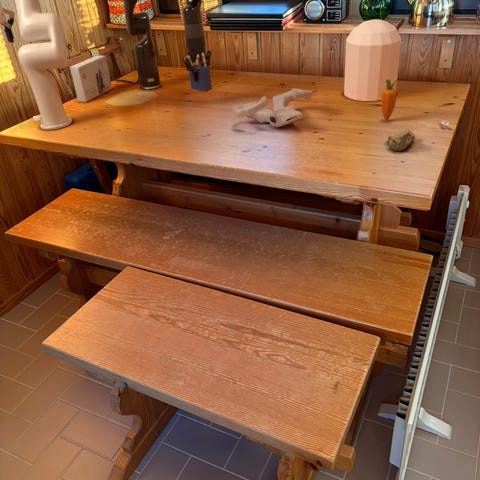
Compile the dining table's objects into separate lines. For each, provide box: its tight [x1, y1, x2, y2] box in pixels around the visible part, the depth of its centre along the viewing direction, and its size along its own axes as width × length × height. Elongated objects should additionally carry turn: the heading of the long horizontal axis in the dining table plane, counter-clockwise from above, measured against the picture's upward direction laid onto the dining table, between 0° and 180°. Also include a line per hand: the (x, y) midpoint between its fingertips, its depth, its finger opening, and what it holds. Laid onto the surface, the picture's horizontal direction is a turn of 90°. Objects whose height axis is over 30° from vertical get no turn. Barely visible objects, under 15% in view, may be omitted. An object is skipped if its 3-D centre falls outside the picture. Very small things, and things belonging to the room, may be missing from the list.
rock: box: [387, 129, 416, 152], centre depth 146 cm, size 11×6×10 cm
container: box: [343, 18, 402, 102], centre depth 184 cm, size 21×21×28 cm
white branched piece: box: [231, 88, 314, 128], centre depth 171 cm, size 28×26×12 cm
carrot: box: [380, 78, 398, 122], centre depth 161 cm, size 5×5×15 cm
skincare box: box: [69, 54, 113, 103], centre depth 218 cm, size 21×6×16 cm, turn 158°
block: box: [188, 64, 213, 93], centre depth 192 cm, size 4×9×9 cm, turn 45°
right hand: (200, 79), depth 192 cm, fingers closed on block, 4 cm apart
